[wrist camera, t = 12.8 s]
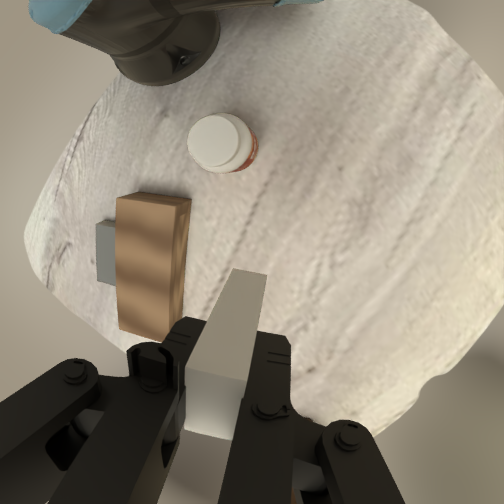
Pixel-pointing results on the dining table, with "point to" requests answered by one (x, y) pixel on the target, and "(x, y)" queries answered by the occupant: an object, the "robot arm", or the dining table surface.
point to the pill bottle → (222, 143)
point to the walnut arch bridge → (150, 262)
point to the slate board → (105, 252)
